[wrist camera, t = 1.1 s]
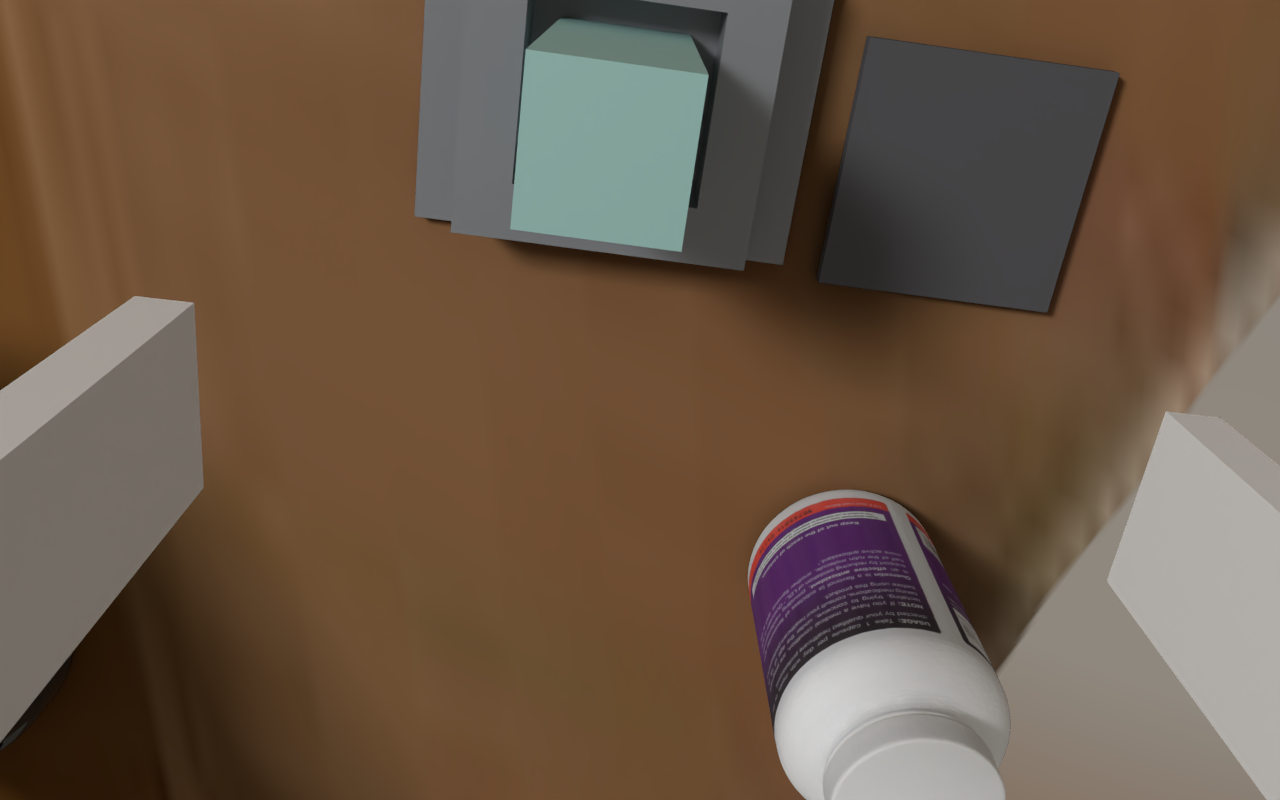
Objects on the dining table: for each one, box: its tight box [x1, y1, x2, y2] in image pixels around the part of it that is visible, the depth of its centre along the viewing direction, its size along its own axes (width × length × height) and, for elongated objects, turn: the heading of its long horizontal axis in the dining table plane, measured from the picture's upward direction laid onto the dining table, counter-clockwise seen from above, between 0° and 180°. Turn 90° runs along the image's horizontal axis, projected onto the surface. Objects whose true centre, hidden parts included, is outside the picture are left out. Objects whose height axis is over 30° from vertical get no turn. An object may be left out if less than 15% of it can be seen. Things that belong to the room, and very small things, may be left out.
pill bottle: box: [748, 490, 1010, 800], centre depth 39 cm, size 8×8×14 cm
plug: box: [510, 16, 709, 252], centre depth 32 cm, size 4×4×12 cm
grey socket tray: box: [415, 0, 834, 271], centre depth 37 cm, size 14×11×3 cm
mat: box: [817, 36, 1120, 313], centre depth 39 cm, size 9×9×1 cm
